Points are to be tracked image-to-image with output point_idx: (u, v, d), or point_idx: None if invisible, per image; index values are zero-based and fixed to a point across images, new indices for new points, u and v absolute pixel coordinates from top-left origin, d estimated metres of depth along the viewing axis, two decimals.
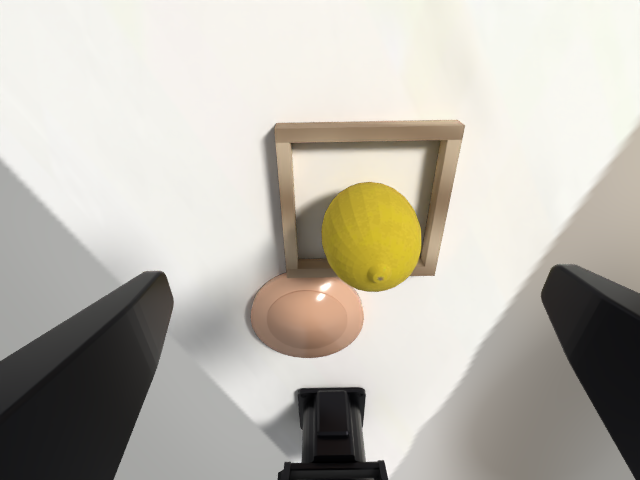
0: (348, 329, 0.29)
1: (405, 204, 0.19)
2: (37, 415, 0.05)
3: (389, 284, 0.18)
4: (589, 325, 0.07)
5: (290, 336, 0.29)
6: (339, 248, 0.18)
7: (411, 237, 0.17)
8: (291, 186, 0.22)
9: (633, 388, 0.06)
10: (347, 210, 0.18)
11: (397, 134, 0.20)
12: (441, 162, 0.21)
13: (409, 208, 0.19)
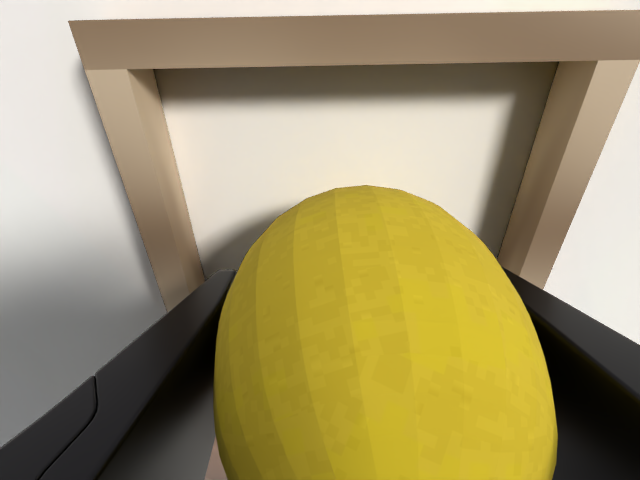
0: None
1: (492, 266, 0.05)
2: (160, 413, 0.05)
3: None
4: None
5: (221, 469, 0.16)
6: (237, 463, 0.04)
7: (544, 424, 0.04)
8: (161, 197, 0.08)
9: None
10: (277, 297, 0.05)
11: (448, 42, 0.07)
12: (558, 132, 0.08)
13: (506, 280, 0.05)
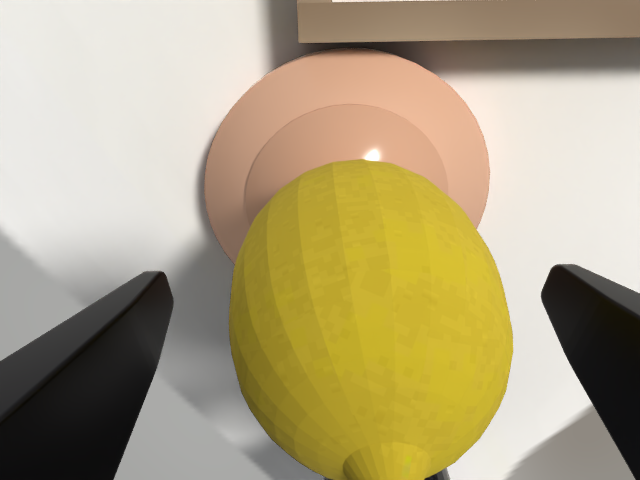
0: None
1: (462, 218, 0.06)
2: (37, 415, 0.05)
3: None
4: (589, 325, 0.07)
5: None
6: (253, 366, 0.05)
7: (497, 332, 0.05)
8: None
9: (633, 388, 0.06)
10: (285, 237, 0.06)
11: None
12: None
13: (474, 230, 0.06)
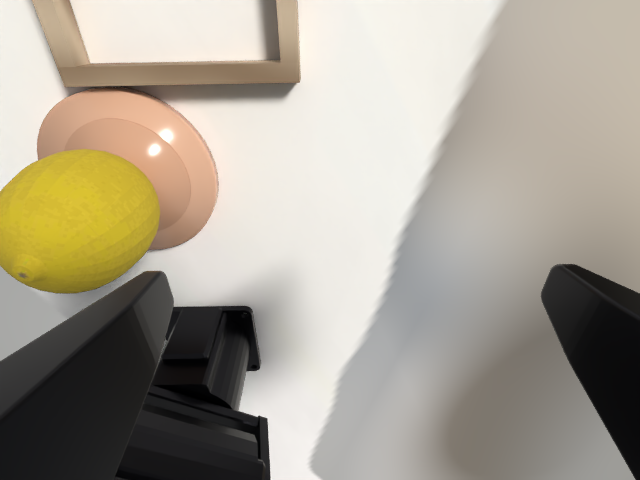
0: (196, 197, 0.19)
1: (100, 175, 0.14)
2: (37, 415, 0.05)
3: (61, 283, 0.13)
4: (589, 325, 0.07)
5: None
6: None
7: (82, 218, 0.13)
8: None
9: (633, 388, 0.06)
10: (9, 182, 0.13)
11: None
12: None
13: (106, 180, 0.14)
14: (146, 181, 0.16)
